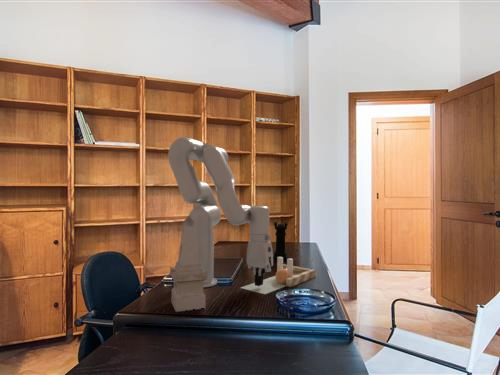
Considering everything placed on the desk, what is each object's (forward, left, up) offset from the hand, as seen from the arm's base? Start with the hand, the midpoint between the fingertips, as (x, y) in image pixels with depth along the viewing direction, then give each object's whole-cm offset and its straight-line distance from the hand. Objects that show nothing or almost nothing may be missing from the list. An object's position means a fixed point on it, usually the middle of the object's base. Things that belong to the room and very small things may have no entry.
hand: (258, 285), depth 137 cm
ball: (+12, +5, +2) cm, 13 cm away
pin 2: (+16, +8, -2) cm, 19 cm away
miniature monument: (-29, -12, -2) cm, 31 cm away
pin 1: (+13, +13, -2) cm, 18 cm away
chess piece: (+27, +48, -2) cm, 56 cm away
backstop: (+16, +13, -2) cm, 20 cm away
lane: (+11, +7, -2) cm, 13 cm away
